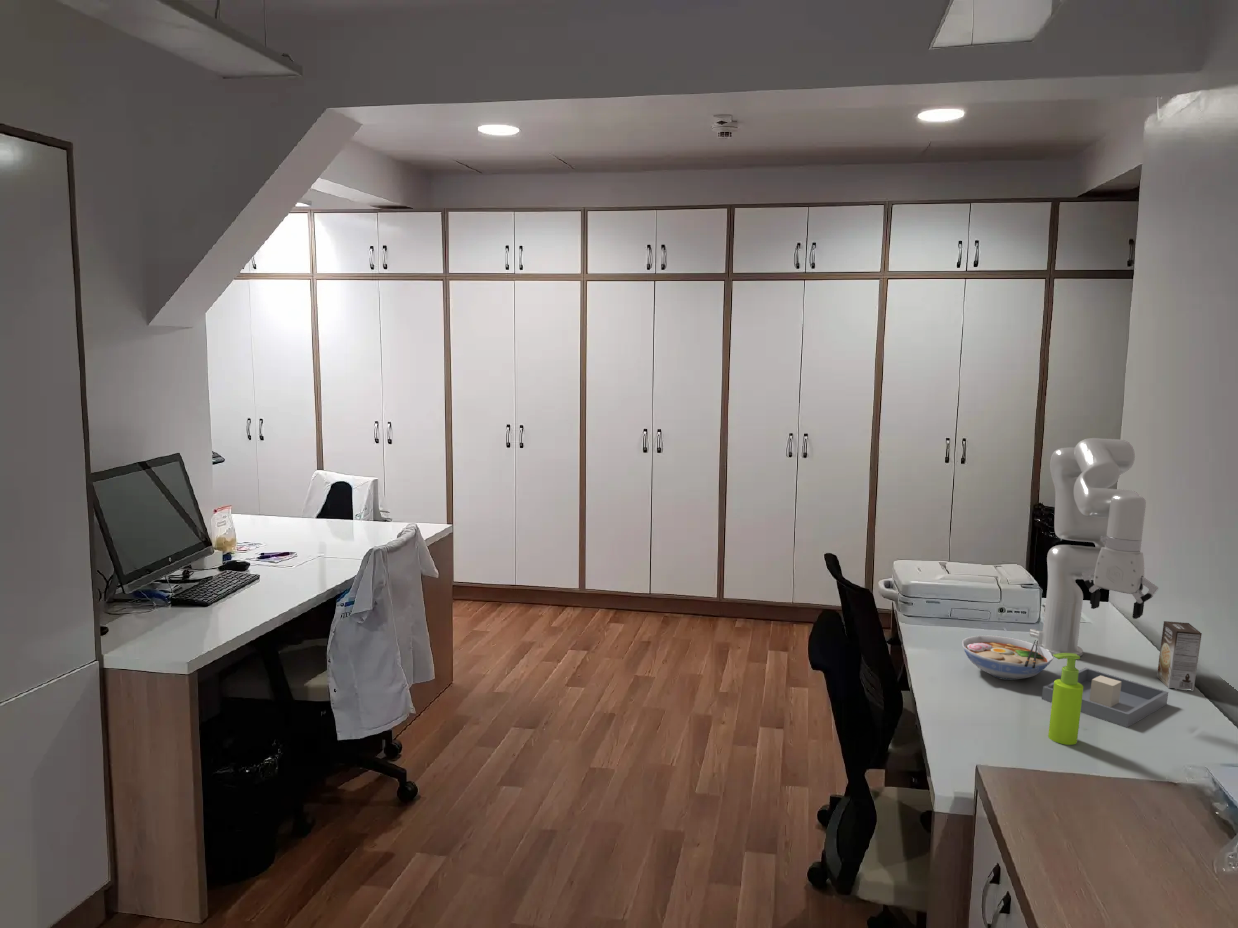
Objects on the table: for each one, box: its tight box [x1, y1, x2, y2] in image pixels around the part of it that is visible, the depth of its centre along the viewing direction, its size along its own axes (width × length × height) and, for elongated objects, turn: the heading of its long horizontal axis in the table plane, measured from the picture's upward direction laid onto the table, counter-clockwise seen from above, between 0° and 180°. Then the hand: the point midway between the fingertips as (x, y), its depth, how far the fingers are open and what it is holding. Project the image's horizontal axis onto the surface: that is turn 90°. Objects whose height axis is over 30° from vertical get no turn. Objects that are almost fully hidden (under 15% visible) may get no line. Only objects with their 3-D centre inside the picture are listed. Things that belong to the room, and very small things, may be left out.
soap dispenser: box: [1047, 653, 1083, 746], centre depth 201 cm, size 6×7×20 cm
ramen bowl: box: [961, 635, 1054, 681], centre depth 241 cm, size 25×23×8 cm
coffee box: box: [1156, 620, 1203, 690], centre depth 239 cm, size 9×6×16 cm
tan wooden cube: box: [1089, 675, 1121, 707], centre depth 223 cm, size 5×5×6 cm
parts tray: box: [1041, 667, 1169, 729], centre depth 224 cm, size 20×24×4 cm
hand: (1115, 612), depth 220 cm, fingers open, 9 cm apart
